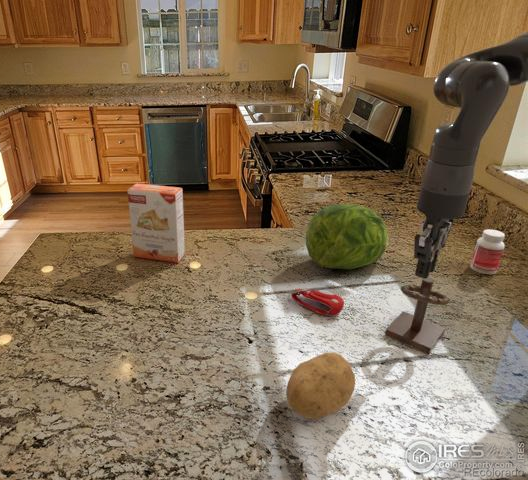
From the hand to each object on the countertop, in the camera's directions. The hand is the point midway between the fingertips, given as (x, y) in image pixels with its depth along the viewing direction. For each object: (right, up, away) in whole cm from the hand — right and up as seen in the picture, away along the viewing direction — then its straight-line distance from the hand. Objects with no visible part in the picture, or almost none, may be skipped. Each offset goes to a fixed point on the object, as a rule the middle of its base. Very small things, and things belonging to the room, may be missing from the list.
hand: (424, 273), depth 80 cm
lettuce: (-3, 0, +38) cm, 38 cm away
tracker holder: (-15, -9, +20) cm, 27 cm away
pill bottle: (+33, -2, +34) cm, 47 cm away
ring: (+3, -5, +5) cm, 8 cm away
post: (+3, -14, +10) cm, 17 cm away
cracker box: (-55, +1, +43) cm, 70 cm away
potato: (-22, -22, -7) cm, 32 cm away
